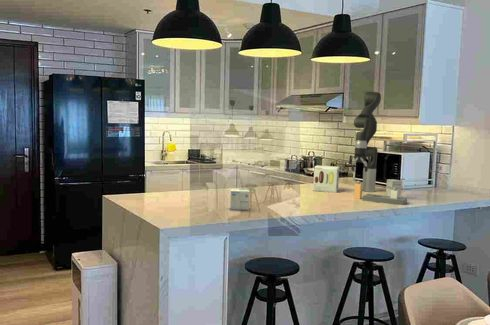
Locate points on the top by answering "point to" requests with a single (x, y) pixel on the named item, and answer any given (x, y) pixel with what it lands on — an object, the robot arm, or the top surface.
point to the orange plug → (358, 190)
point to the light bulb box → (239, 199)
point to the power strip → (386, 198)
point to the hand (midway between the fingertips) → (359, 171)
